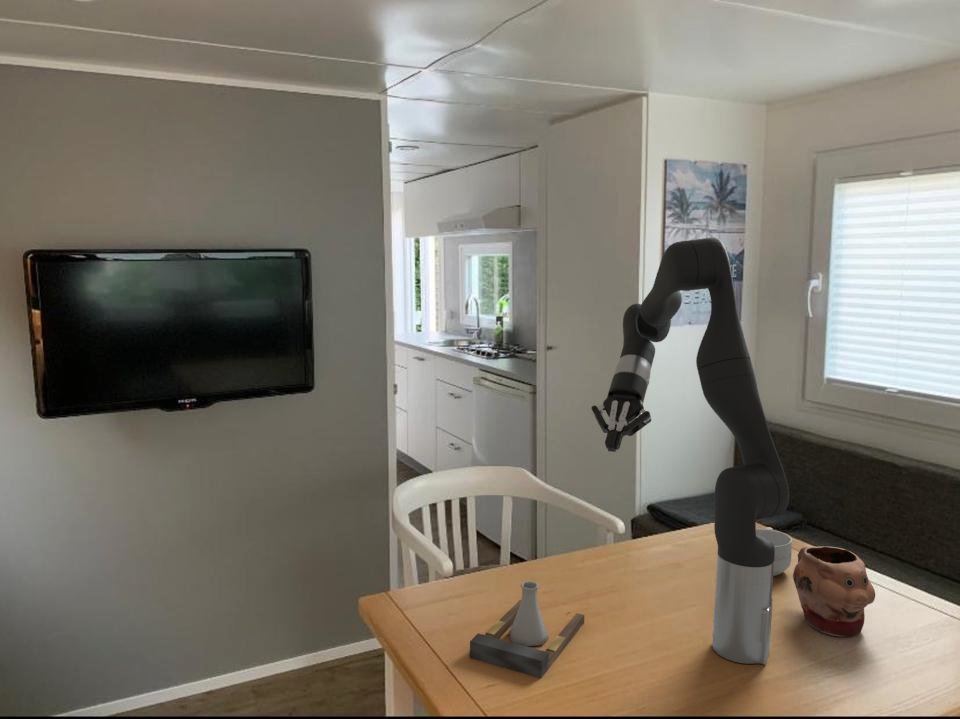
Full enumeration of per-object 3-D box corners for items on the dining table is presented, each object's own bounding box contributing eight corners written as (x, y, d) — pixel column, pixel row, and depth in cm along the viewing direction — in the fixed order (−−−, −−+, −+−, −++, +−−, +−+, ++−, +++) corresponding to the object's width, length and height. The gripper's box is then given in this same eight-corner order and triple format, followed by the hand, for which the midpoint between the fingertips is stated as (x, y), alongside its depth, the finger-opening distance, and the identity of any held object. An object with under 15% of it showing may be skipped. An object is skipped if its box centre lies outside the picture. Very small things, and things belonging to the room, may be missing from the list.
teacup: (782, 585, 156) (784, 549, 155) (730, 572, 163) (733, 537, 162) (799, 564, 167) (802, 530, 166) (750, 552, 174) (753, 519, 173)
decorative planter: (765, 601, 149) (770, 535, 147) (817, 595, 152) (822, 530, 150) (835, 652, 130) (841, 576, 128) (893, 644, 132) (900, 570, 131)
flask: (549, 629, 137) (550, 577, 135) (547, 649, 129) (548, 595, 128) (510, 626, 138) (511, 574, 136) (506, 645, 130) (507, 592, 129)
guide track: (584, 623, 139) (584, 607, 139) (541, 678, 120) (541, 660, 120) (519, 607, 145) (520, 592, 144) (469, 657, 126) (470, 641, 126)
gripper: (597, 368, 158) (575, 435, 149) (658, 372, 152) (640, 443, 143) (603, 388, 164) (583, 455, 154) (663, 394, 158) (646, 463, 149)
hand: (611, 449), depth 149 cm, fingers closed
